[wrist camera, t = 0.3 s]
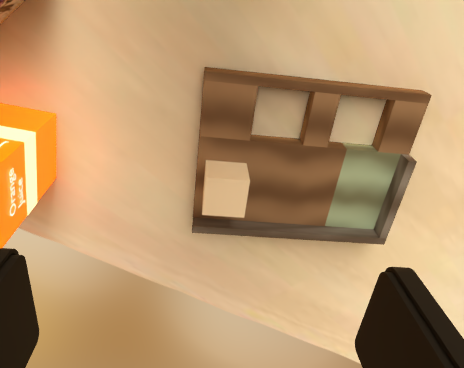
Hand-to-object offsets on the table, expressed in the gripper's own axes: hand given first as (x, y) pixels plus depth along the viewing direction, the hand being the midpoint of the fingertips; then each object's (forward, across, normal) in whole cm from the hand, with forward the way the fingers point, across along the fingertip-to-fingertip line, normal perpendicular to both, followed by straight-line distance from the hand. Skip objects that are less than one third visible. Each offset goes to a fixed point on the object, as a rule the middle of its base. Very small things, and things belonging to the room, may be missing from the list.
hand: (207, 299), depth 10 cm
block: (+34, -3, +14) cm, 36 cm away
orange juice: (+36, +22, +11) cm, 43 cm away
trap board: (+36, -12, +11) cm, 39 cm away
